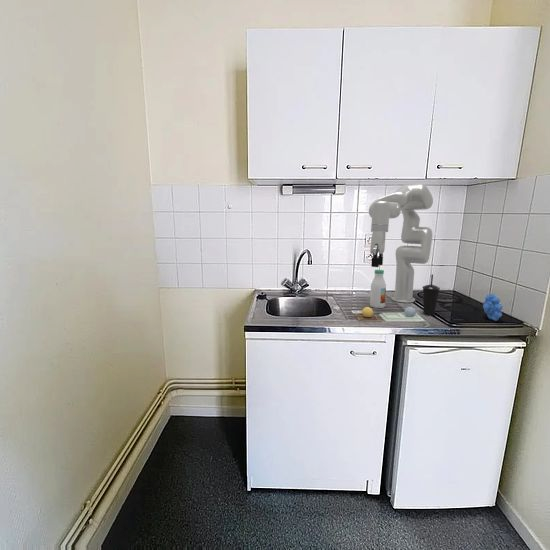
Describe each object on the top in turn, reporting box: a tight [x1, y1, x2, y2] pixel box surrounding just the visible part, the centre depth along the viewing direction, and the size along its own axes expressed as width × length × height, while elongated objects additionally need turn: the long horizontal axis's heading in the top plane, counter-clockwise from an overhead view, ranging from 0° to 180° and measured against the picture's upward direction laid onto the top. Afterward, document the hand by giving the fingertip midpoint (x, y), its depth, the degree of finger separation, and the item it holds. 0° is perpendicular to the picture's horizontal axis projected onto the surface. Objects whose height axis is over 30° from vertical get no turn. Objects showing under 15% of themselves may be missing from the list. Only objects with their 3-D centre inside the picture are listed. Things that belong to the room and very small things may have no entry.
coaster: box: [353, 313, 382, 323], centre depth 145 cm, size 10×10×1 cm
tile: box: [351, 310, 362, 315], centre depth 154 cm, size 4×6×1 cm, turn 89°
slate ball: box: [403, 306, 417, 317], centre depth 144 cm, size 5×5×5 cm
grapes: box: [482, 293, 503, 322], centre depth 141 cm, size 12×7×12 cm, turn 177°
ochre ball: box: [361, 306, 374, 317], centre depth 145 cm, size 5×5×5 cm
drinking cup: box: [422, 273, 441, 317], centre depth 149 cm, size 8×8×20 cm
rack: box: [378, 312, 426, 323], centre depth 145 cm, size 10×18×2 cm, turn 89°
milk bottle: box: [369, 269, 387, 309], centre depth 163 cm, size 8×8×20 cm
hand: (377, 265), depth 142 cm, fingers open, 9 cm apart
